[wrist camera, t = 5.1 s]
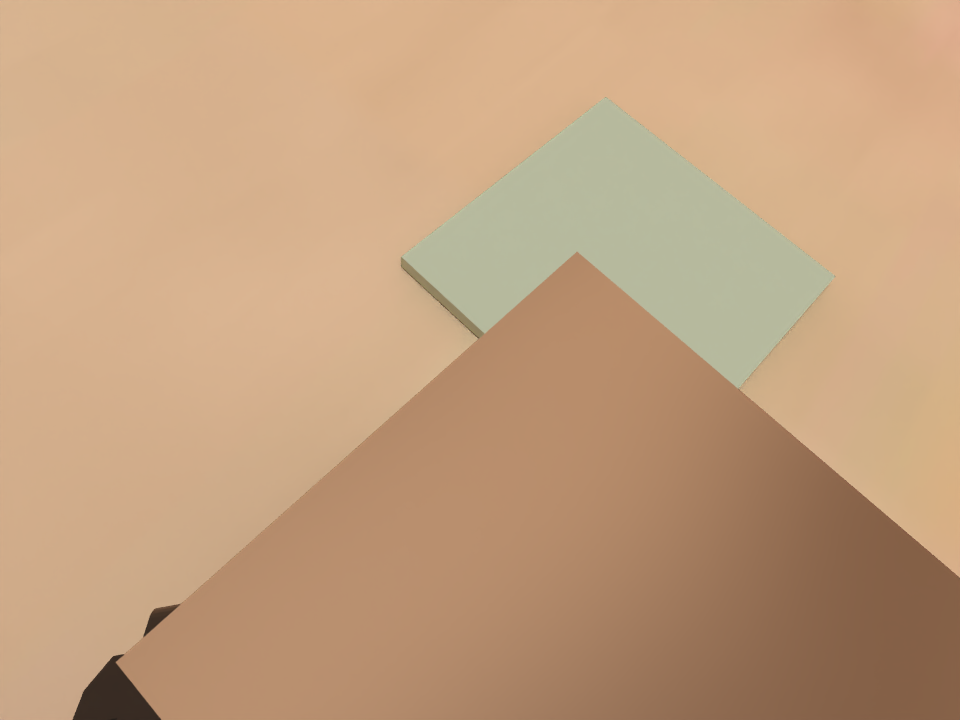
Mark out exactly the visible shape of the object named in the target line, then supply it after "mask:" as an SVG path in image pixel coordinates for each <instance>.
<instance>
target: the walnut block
mask: <svg viewBox="0 0 960 720" xmlns="http://www.w3.org/2000/svg"><path fill="white" fill-rule="evenodd" d="M116 663H117V665H118V666H119V667H120V668H121V670H122V671H123V672H124V673H125V675H126V676H127V677H128V678H129V680H130V681H131V682H132V683H133V685H134V686H135V687H136V688H137V690H138V691H139V692H140V693H141V695H142V696H143V697H144V698H145V700H146V701H147V702H148V703H149V705H150V706H151V707H152V708H153V710H154V711H155V712H156V713H157V715H158V716H159V717H160V718H161V720H960V578H959V577H958V576H957V575H956V574H955V573H954V572H952V571H951V570H950V569H949V568H948V567H946V566H945V565H944V564H943V563H942V562H941V561H939V560H938V559H937V558H936V557H935V556H934V555H932V554H931V553H930V552H929V551H928V550H927V549H925V548H924V547H923V546H922V545H921V544H920V543H918V542H917V541H916V540H915V539H914V538H912V537H911V536H910V535H909V534H908V533H907V532H905V531H904V530H903V529H902V528H901V527H900V526H898V525H897V524H896V523H895V522H894V521H893V520H891V519H890V518H889V517H888V516H887V515H885V514H884V513H883V512H882V511H881V510H880V509H878V508H877V507H876V506H875V505H874V504H873V503H871V502H870V501H869V500H868V499H867V498H866V497H864V496H863V495H862V494H861V493H860V492H859V491H857V490H856V489H855V488H854V487H853V486H851V485H850V484H849V483H848V482H847V481H846V480H844V479H843V478H842V477H841V476H840V475H839V474H837V473H836V472H835V471H834V470H833V469H832V468H830V467H829V466H828V465H827V464H826V463H825V462H823V461H822V460H821V459H820V458H819V457H817V456H816V455H815V454H814V453H813V452H812V451H810V450H809V449H808V448H807V447H806V446H805V445H803V444H802V443H801V442H800V441H799V440H798V439H796V438H795V437H794V436H793V435H792V434H791V433H789V432H788V431H787V430H786V429H785V428H783V427H782V426H781V425H780V424H779V423H778V422H776V421H775V420H774V419H773V418H772V417H771V416H769V415H768V414H767V413H766V412H765V411H764V410H762V409H761V408H760V407H759V406H758V405H757V404H755V403H754V402H753V401H752V400H751V399H749V398H748V397H747V396H746V395H745V394H744V393H742V392H741V391H740V390H739V389H738V388H737V387H735V386H734V385H733V384H732V383H731V382H730V381H728V380H727V379H726V378H725V377H724V376H722V375H721V374H720V373H719V372H718V371H717V370H715V369H714V368H713V367H712V366H711V365H710V364H708V363H707V362H706V361H705V360H704V359H703V358H701V357H700V356H699V355H698V354H697V353H696V352H694V351H693V350H692V349H691V348H690V347H688V346H687V345H686V344H685V343H684V342H683V341H681V340H680V339H679V338H678V337H677V336H676V335H674V334H673V333H672V332H671V331H670V330H669V329H667V328H666V327H665V326H664V325H663V324H662V323H660V322H659V321H658V320H657V319H656V318H654V317H653V316H652V315H651V314H650V313H649V312H647V311H646V310H645V309H644V308H643V307H642V306H640V305H639V304H638V303H637V302H636V301H635V300H633V299H632V298H631V297H630V296H629V295H628V294H626V293H625V292H624V291H623V290H622V289H620V288H619V287H618V286H617V285H616V284H615V283H613V282H612V281H611V280H610V279H609V278H608V277H606V276H605V275H604V274H603V273H602V272H601V271H599V270H598V269H597V268H596V267H595V266H593V265H592V264H591V263H590V262H589V261H588V260H586V259H585V258H584V257H583V256H582V255H581V254H579V253H578V252H576V253H575V254H574V255H573V256H571V257H570V258H569V259H568V260H567V261H566V262H565V263H564V264H562V265H561V266H560V267H559V268H558V269H557V270H556V271H555V272H553V273H552V274H551V275H550V276H549V277H548V278H547V279H546V280H544V281H543V282H542V283H541V284H540V285H539V286H538V287H537V288H535V289H534V290H533V291H532V292H531V293H530V294H529V295H528V296H526V297H525V298H524V299H523V300H522V301H521V302H520V303H519V304H517V305H516V306H515V307H514V308H513V309H512V310H511V311H510V312H509V313H507V314H506V315H505V316H504V317H503V318H502V319H501V320H500V321H498V322H497V323H496V324H495V325H494V326H493V327H492V328H491V329H489V330H488V331H487V332H486V333H485V334H484V335H483V336H482V337H480V338H479V339H478V340H477V341H476V342H475V343H474V344H473V345H471V346H470V347H469V348H468V349H467V350H466V351H465V352H464V353H462V354H461V355H460V356H459V357H458V358H457V359H456V360H455V361H453V362H452V363H451V364H450V365H449V366H448V367H447V368H446V369H444V370H443V371H442V372H441V373H440V374H439V375H438V376H437V377H436V378H434V379H433V380H432V381H431V382H430V383H429V384H428V385H427V386H425V387H424V388H423V389H422V390H421V391H420V392H419V393H418V394H416V395H415V396H414V397H413V398H412V399H411V400H410V401H409V402H407V403H406V404H405V405H404V406H403V407H402V408H401V409H400V410H398V411H397V412H396V413H395V414H394V415H393V416H392V417H391V418H389V419H388V420H387V421H386V422H385V423H384V424H383V425H382V426H380V427H379V428H378V429H377V430H376V431H375V432H374V433H373V434H372V435H370V436H369V437H368V438H367V439H366V440H365V441H364V442H363V443H361V444H360V445H359V446H358V447H357V448H356V449H355V450H354V451H352V452H351V453H350V454H349V455H348V456H347V457H346V458H345V459H343V460H342V461H341V462H340V463H339V464H338V465H337V466H336V467H334V468H333V469H332V470H331V471H330V472H329V473H328V474H327V475H325V476H324V477H323V478H322V479H321V480H320V481H319V482H318V483H316V484H315V485H314V486H313V487H312V488H311V489H310V490H309V491H307V492H306V493H305V494H304V495H303V496H302V497H301V498H300V499H299V500H297V501H296V502H295V503H294V504H293V505H292V506H291V507H290V508H288V509H287V510H286V511H285V512H284V513H283V514H282V515H281V516H279V517H278V518H277V519H276V520H275V521H274V522H273V523H272V524H270V525H269V526H268V527H267V528H266V529H265V530H264V531H263V532H261V533H260V534H259V535H258V536H257V537H256V538H255V539H254V540H252V541H251V542H250V543H249V544H248V545H247V546H246V547H245V548H243V549H242V550H241V551H240V552H239V553H238V554H237V555H236V556H234V557H233V558H232V559H231V560H230V561H229V562H228V563H227V564H226V565H224V566H223V567H222V568H221V569H220V570H219V571H218V572H217V573H215V574H214V575H213V576H212V577H211V578H210V579H209V580H208V581H206V582H205V583H204V584H203V585H202V586H201V587H200V588H199V589H197V590H196V591H195V592H194V593H193V594H192V595H191V596H190V597H188V598H187V599H186V600H185V601H184V602H183V603H182V604H181V605H179V606H178V607H177V608H176V609H175V610H174V611H173V612H172V613H170V614H169V615H168V616H167V617H166V618H165V619H164V620H163V621H162V622H160V623H159V624H158V625H157V626H156V627H155V628H154V629H153V630H151V631H150V632H149V633H148V634H147V635H146V636H145V637H144V638H142V639H141V640H140V641H139V642H138V643H137V644H136V645H135V646H133V647H132V648H131V649H130V650H129V651H128V652H127V653H126V654H124V655H123V656H122V657H121V658H120V659H119V660H118V661H117V662H116Z"/></svg>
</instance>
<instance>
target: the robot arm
mask: <svg viewBox="0 0 960 720" xmlns="http://www.w3.org/2000/svg"><path fill="white" fill-rule="evenodd" d="M179 605H181V604H178V605H172V606H167V607H161V608H156V609H154V610H153V611H152V613H151V615H150V618H149V621H148V624H147V627H146V630H145V633H144V636H143V638H144V637H145V636H146V635H147V634H148V633H149V632H150V631H151V630H153V629H154V628H155V627H156V626H157V625H158V624H159V623H160V622H162V621H163V620H164V619H165V618H166V617H167V616H168V615H169V614H170V613H172V612H173V611H174V610H175V609H176V608H177V607H178V606H179ZM123 655H124V654H122V655H117V656H113V657H112V658H111V659H110V661H109V662H108V663H107V664H106V665H105V666H104V668H103V669H102V670H101V671H100V672H99V674H98V675H97V676H96V677H95V678H94V679H93V681H92V682H91V683H90V684H89V685H88V687H87V688H86V689H85V690H84V692H83V694H82V697H81V700H80V702H79V705H78V707H77V710H76V712H75V715H74V717H73V720H161V718H160V717H159V716H158V715H157V713H156V712H155V711H154V710H153V708H152V707H151V706H150V705H149V703H148V702H147V701H146V700H145V698H144V697H143V696H142V695H141V693H140V692H139V691H138V690H137V688H136V687H135V686H134V685H133V683H132V682H131V681H130V680H129V678H128V677H127V676H126V675H125V673H124V672H123V671H122V670H121V668H120V667H119V666H118V665H117V663H116V662H117V661H118V660H119V659H120V658H121V657H122V656H123Z"/></svg>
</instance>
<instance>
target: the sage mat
mask: <svg viewBox="0 0 960 720" xmlns="http://www.w3.org/2000/svg"><path fill="white" fill-rule="evenodd" d="M576 252H578V253H579V254H581V255H582V256H583V257H584V258H585V259H586V260H588V261H589V262H590V263H591V264H592V265H593V266H595V267H596V268H597V269H598V270H599V271H601V272H602V273H603V274H604V275H605V276H606V277H608V278H609V279H610V280H611V281H612V282H613V283H615V284H616V285H617V286H618V287H619V288H620V289H622V290H623V291H624V292H625V293H626V294H628V295H629V296H630V297H631V298H632V299H633V300H635V301H636V302H637V303H638V304H639V305H640V306H642V307H643V308H644V309H645V310H646V311H647V312H649V313H650V314H651V315H652V316H653V317H654V318H656V319H657V320H658V321H659V322H660V323H662V324H663V325H664V326H665V327H666V328H667V329H669V330H670V331H671V332H672V333H673V334H674V335H676V336H677V337H678V338H679V339H680V340H681V341H683V342H684V343H685V344H686V345H687V346H688V347H690V348H691V349H692V350H693V351H694V352H696V353H697V354H698V355H699V356H700V357H701V358H703V359H704V360H705V361H706V362H707V363H708V364H710V365H711V366H712V367H713V368H714V369H715V370H717V371H718V372H719V373H720V374H721V375H722V376H724V377H725V378H726V379H727V380H728V381H730V382H731V383H732V384H733V385H734V386H735V387H737V388H739V387H740V386H741V385H742V384H743V383H744V382H745V380H746V379H747V378H748V377H749V376H750V375H751V373H752V372H753V371H754V370H755V369H756V368H757V367H758V365H759V364H760V363H761V362H762V361H763V360H764V358H765V357H766V356H767V355H768V354H769V353H770V351H771V350H772V349H773V348H774V347H775V346H776V345H777V343H778V342H779V341H780V340H781V339H782V338H783V336H784V335H785V334H786V333H787V332H788V331H789V330H790V328H791V327H792V326H793V325H794V324H795V323H796V321H797V320H798V319H799V318H800V317H801V316H802V315H803V313H804V312H805V311H806V310H807V309H808V308H809V306H810V305H811V304H812V303H813V302H814V301H815V299H816V298H817V297H818V296H819V295H820V294H821V293H822V291H823V290H824V289H825V288H826V287H827V286H828V284H829V283H830V282H831V281H832V280H833V279H834V278H835V276H834V275H833V274H832V273H831V272H829V271H828V270H827V269H825V268H824V267H823V266H822V265H820V264H819V263H818V262H816V261H815V260H814V259H813V258H811V257H810V256H809V255H808V254H806V253H805V252H804V251H802V250H801V249H800V248H799V247H797V246H796V245H795V244H793V243H792V242H791V241H790V240H788V239H787V238H786V237H784V236H783V235H782V234H781V233H779V232H778V231H777V230H776V229H774V228H773V227H772V226H770V225H769V224H768V223H767V222H765V221H764V220H763V219H761V218H760V217H759V216H758V215H756V214H755V213H754V212H752V211H751V210H750V209H749V208H747V207H746V206H745V205H744V204H742V203H741V202H740V201H738V200H737V199H736V198H735V197H733V196H732V195H731V194H729V193H728V192H727V191H726V190H724V189H723V188H722V187H720V186H719V185H718V184H717V183H715V182H714V181H713V180H712V179H710V178H709V177H708V176H706V175H705V174H704V173H703V172H701V171H700V170H699V169H697V168H696V167H695V166H694V165H692V164H691V163H690V162H688V161H687V160H686V159H685V158H683V157H682V156H681V155H679V154H678V153H677V152H676V151H674V150H673V149H672V148H671V147H669V146H668V145H667V144H665V143H664V142H663V141H662V140H660V139H659V138H658V137H656V136H655V135H654V134H653V133H651V132H650V131H649V130H647V129H646V128H645V127H644V126H642V125H641V124H640V123H639V122H637V121H636V120H635V119H633V118H632V117H631V116H630V115H628V114H627V113H626V112H624V111H623V110H622V109H621V108H619V107H618V106H617V105H615V104H614V103H613V102H612V101H610V100H609V99H608V98H607V97H605V98H604V99H602V100H601V101H600V102H599V103H597V104H596V105H595V106H593V107H592V108H591V109H590V110H588V111H587V112H586V113H584V114H583V115H582V116H581V117H579V118H578V119H577V120H576V121H574V122H573V123H572V124H570V125H569V126H568V127H567V128H565V129H564V130H563V131H561V132H560V133H559V134H558V135H556V136H555V137H554V138H553V139H551V140H550V141H549V142H547V143H546V144H545V145H544V146H542V147H541V148H540V149H538V150H537V151H536V152H535V153H533V154H532V155H531V156H529V157H528V158H527V159H526V160H524V161H523V162H522V163H521V164H519V165H518V166H517V167H515V168H514V169H513V170H512V171H510V172H509V173H508V174H506V175H505V176H504V177H503V178H501V179H500V180H499V181H498V182H496V183H495V184H494V185H492V186H491V187H490V188H489V189H487V190H486V191H485V192H483V193H482V194H481V195H480V196H478V197H477V198H476V199H475V200H473V201H472V202H471V203H469V204H468V205H467V206H466V207H464V208H463V209H462V210H460V211H459V212H458V213H457V214H455V215H454V216H453V217H452V218H450V219H449V220H448V221H446V222H445V223H444V224H443V225H441V226H440V227H439V228H437V229H436V230H435V231H434V232H432V233H431V234H430V235H428V236H427V237H426V238H425V239H423V240H422V241H421V242H420V243H418V244H417V245H416V246H414V247H413V248H412V249H411V250H409V251H408V252H407V253H405V254H404V255H403V256H402V257H401V267H402V268H403V269H405V270H406V271H407V272H408V273H409V274H410V275H411V276H412V277H413V278H414V279H415V280H416V281H417V282H419V283H420V284H421V285H422V286H423V287H424V288H425V289H426V290H427V291H428V292H429V293H430V294H432V295H433V296H434V297H435V298H436V299H437V300H438V301H439V302H440V303H441V304H442V305H443V306H445V307H446V308H447V309H448V310H449V311H450V312H451V313H452V314H453V315H454V316H455V317H456V318H458V319H459V320H460V321H461V322H462V323H463V324H464V325H465V326H466V327H467V328H468V329H469V330H470V331H472V332H473V333H474V334H475V335H476V336H477V337H478V338H480V337H482V336H483V335H484V334H485V333H486V332H487V331H488V330H489V329H491V328H492V327H493V326H494V325H495V324H496V323H497V322H498V321H500V320H501V319H502V318H503V317H504V316H505V315H506V314H507V313H509V312H510V311H511V310H512V309H513V308H514V307H515V306H516V305H517V304H519V303H520V302H521V301H522V300H523V299H524V298H525V297H526V296H528V295H529V294H530V293H531V292H532V291H533V290H534V289H535V288H537V287H538V286H539V285H540V284H541V283H542V282H543V281H544V280H546V279H547V278H548V277H549V276H550V275H551V274H552V273H553V272H555V271H556V270H557V269H558V268H559V267H560V266H561V265H562V264H564V263H565V262H566V261H567V260H568V259H569V258H570V257H571V256H573V255H574V254H575V253H576Z"/></svg>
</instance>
